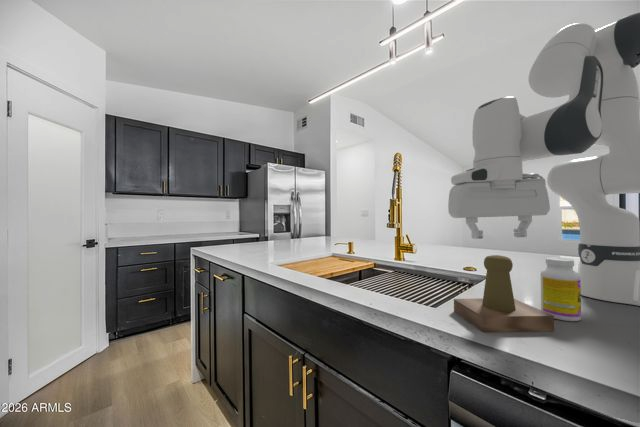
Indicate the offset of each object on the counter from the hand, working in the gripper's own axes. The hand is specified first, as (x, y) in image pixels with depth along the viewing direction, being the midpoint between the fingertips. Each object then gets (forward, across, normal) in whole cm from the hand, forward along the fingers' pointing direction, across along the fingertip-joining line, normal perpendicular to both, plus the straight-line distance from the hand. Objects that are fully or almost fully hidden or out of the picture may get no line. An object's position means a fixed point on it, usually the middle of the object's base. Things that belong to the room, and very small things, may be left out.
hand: (498, 237), depth 57 cm
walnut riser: (+18, +1, 0) cm, 18 cm away
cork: (+15, +1, 0) cm, 15 cm away
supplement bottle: (+18, -14, -1) cm, 23 cm away
